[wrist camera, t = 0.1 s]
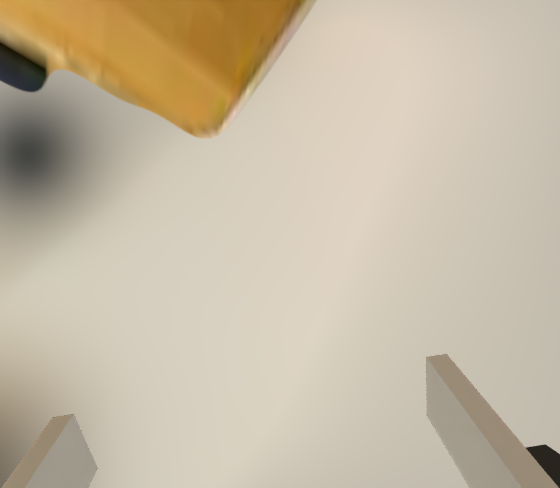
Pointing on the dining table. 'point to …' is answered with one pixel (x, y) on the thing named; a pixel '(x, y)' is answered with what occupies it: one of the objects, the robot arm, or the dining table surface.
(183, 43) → the dining table surface
